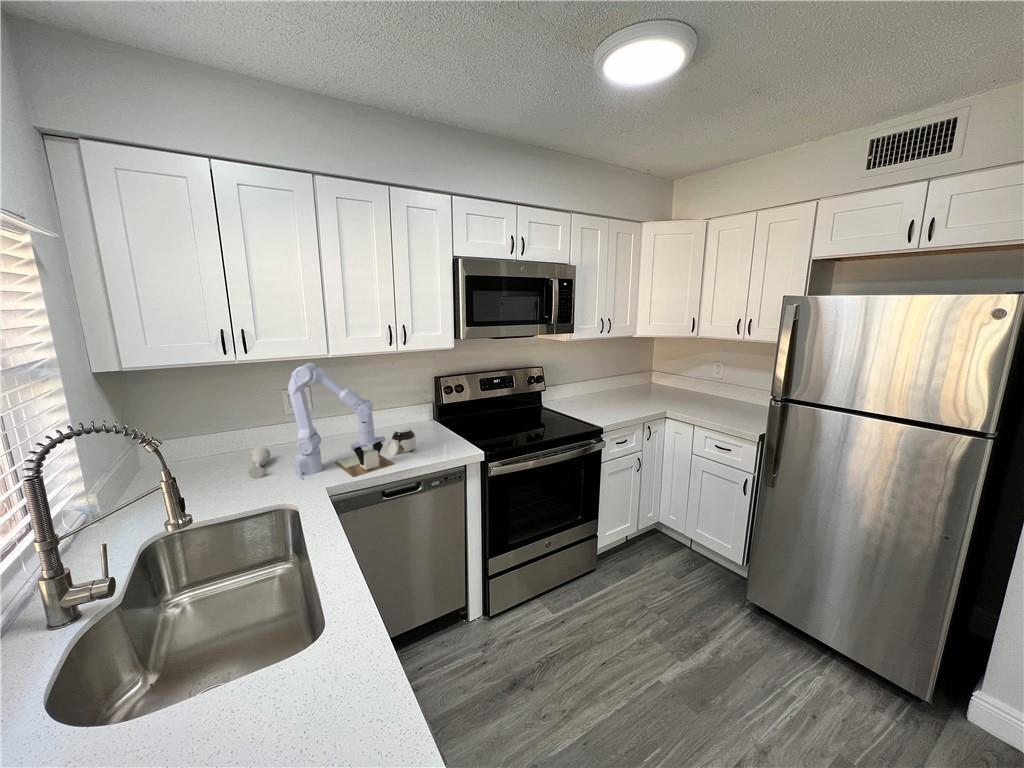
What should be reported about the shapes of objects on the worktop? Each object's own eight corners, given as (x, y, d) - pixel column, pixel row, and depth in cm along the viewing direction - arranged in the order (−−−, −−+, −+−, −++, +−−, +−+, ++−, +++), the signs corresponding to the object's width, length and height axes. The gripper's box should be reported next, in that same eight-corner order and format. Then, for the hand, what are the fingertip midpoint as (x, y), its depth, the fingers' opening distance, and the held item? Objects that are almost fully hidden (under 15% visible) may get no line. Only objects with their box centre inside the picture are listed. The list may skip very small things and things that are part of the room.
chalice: (251, 461, 160) (256, 444, 176) (241, 476, 160) (247, 457, 176) (270, 468, 164) (273, 450, 180) (261, 483, 164) (265, 464, 179)
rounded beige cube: (366, 470, 166) (364, 454, 164) (360, 466, 170) (358, 451, 168) (379, 466, 170) (378, 451, 168) (373, 462, 174) (371, 447, 172)
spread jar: (418, 448, 192) (416, 424, 189) (409, 458, 181) (408, 432, 178) (393, 448, 193) (391, 424, 191) (383, 457, 182) (381, 432, 180)
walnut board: (353, 479, 160) (353, 477, 160) (333, 464, 175) (333, 462, 174) (396, 466, 172) (395, 463, 172) (374, 453, 187) (373, 451, 186)
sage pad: (346, 468, 169) (346, 467, 169) (337, 462, 175) (337, 461, 175) (367, 462, 175) (367, 461, 175) (358, 456, 181) (358, 455, 181)
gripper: (352, 437, 159) (356, 470, 162) (387, 428, 168) (390, 460, 171) (345, 433, 164) (348, 465, 167) (379, 424, 173) (382, 455, 176)
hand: (369, 462), depth 169 cm, fingers closed on rounded beige cube, 6 cm apart
